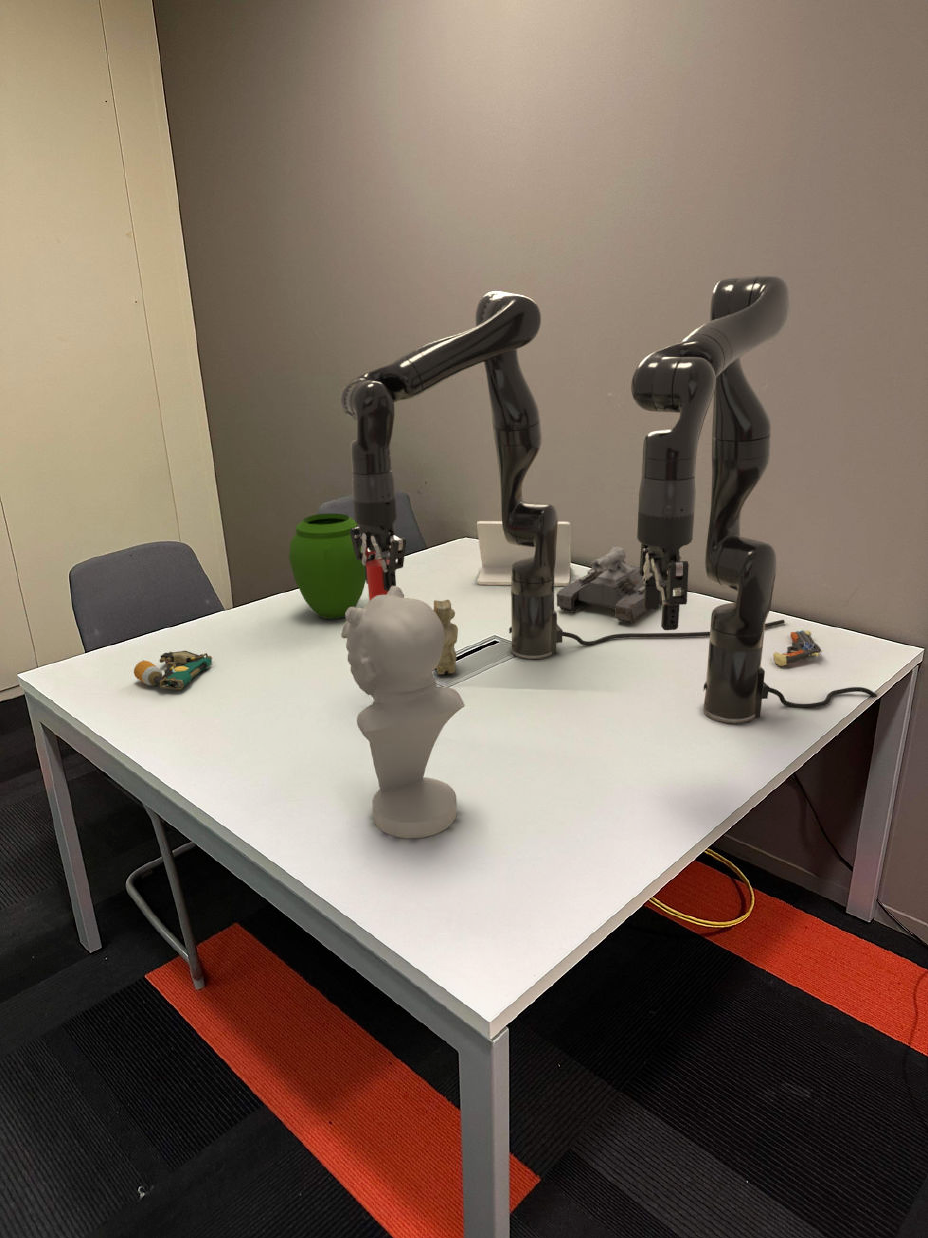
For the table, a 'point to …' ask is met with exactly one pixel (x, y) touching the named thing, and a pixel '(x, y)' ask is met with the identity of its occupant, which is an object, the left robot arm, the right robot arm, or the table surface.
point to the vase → (327, 564)
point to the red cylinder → (375, 578)
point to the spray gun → (172, 669)
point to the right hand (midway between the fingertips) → (660, 618)
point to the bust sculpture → (402, 709)
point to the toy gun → (798, 649)
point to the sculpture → (447, 636)
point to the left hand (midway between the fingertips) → (381, 586)
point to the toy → (608, 588)
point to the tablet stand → (517, 554)
